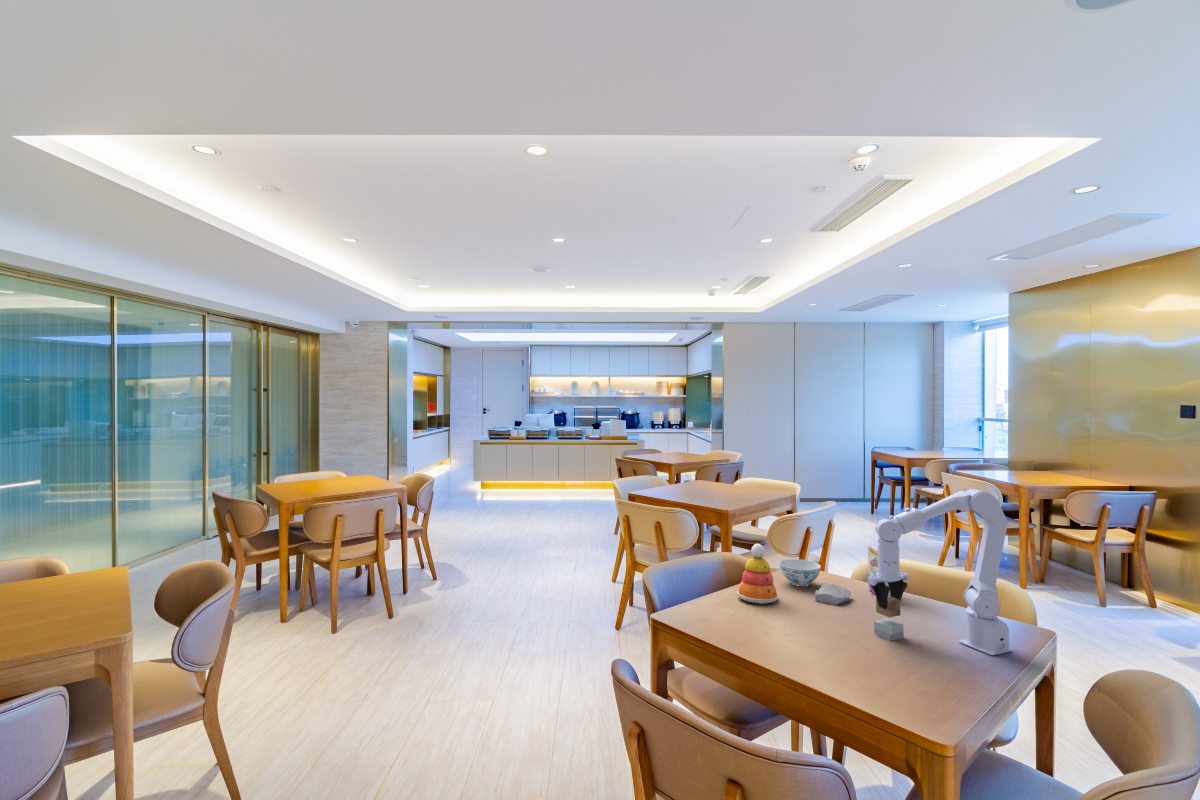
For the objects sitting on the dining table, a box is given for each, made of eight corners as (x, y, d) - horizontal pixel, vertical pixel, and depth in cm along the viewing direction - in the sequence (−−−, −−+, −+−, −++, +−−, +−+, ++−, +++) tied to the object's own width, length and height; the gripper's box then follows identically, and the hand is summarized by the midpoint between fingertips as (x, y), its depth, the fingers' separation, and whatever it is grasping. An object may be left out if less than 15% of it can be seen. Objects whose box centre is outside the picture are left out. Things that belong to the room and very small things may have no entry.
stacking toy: (764, 609, 185) (763, 551, 185) (728, 598, 195) (728, 543, 196) (786, 599, 194) (785, 544, 195) (751, 590, 205) (751, 537, 205)
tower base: (903, 639, 161) (903, 631, 161) (890, 642, 159) (889, 634, 159) (887, 632, 166) (887, 624, 166) (874, 634, 164) (874, 627, 164)
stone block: (851, 603, 196) (823, 592, 202) (854, 590, 196) (825, 579, 202) (841, 613, 187) (812, 601, 193) (844, 600, 186) (814, 588, 193)
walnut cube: (887, 610, 166) (887, 595, 166) (900, 615, 161) (900, 599, 162) (876, 612, 164) (876, 597, 164) (889, 617, 160) (888, 601, 160)
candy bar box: (867, 590, 204) (867, 546, 204) (881, 591, 204) (881, 546, 204) (882, 601, 193) (881, 554, 193) (896, 601, 192) (895, 554, 193)
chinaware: (771, 580, 216) (771, 560, 217) (803, 577, 221) (803, 557, 221) (795, 592, 202) (795, 571, 202) (829, 588, 207) (829, 567, 207)
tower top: (903, 631, 161) (903, 623, 161) (892, 634, 159) (891, 627, 159) (885, 624, 166) (885, 617, 166) (874, 628, 163) (874, 621, 163)
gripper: (894, 555, 169) (895, 599, 169) (859, 559, 164) (859, 605, 164) (915, 560, 163) (915, 606, 162) (878, 565, 157) (879, 613, 157)
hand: (889, 606), depth 163 cm, fingers closed on walnut cube, 4 cm apart
